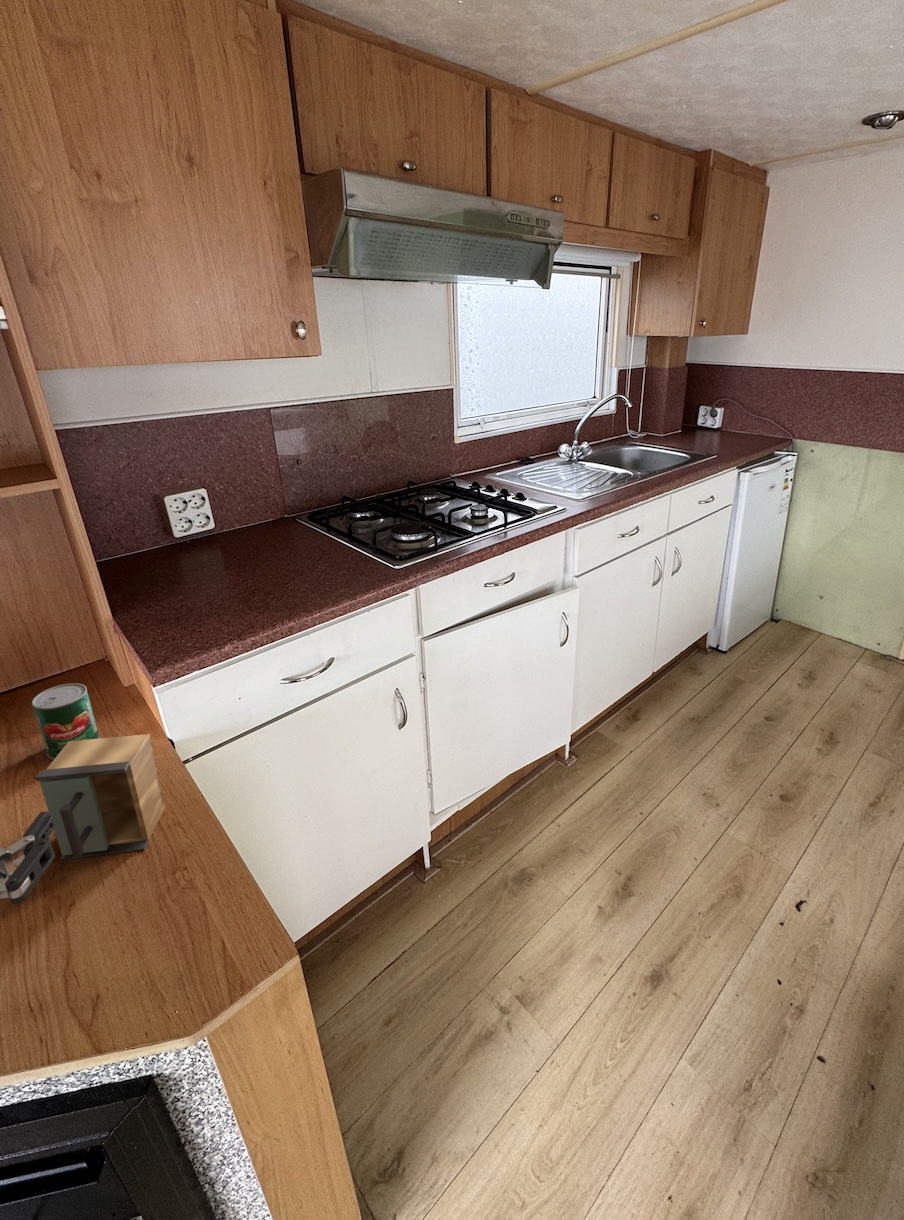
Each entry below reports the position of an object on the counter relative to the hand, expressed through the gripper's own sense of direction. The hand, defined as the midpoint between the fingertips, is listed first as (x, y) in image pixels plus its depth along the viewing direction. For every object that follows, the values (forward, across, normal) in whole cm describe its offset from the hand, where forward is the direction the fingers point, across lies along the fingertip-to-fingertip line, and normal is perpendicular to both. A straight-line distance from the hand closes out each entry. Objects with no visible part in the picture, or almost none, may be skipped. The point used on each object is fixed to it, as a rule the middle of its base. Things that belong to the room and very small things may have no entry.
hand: (5, 821), depth 65 cm
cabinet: (+18, -1, +19) cm, 26 cm away
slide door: (+11, +1, +18) cm, 22 cm away
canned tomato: (+40, +15, +20) cm, 47 cm away
